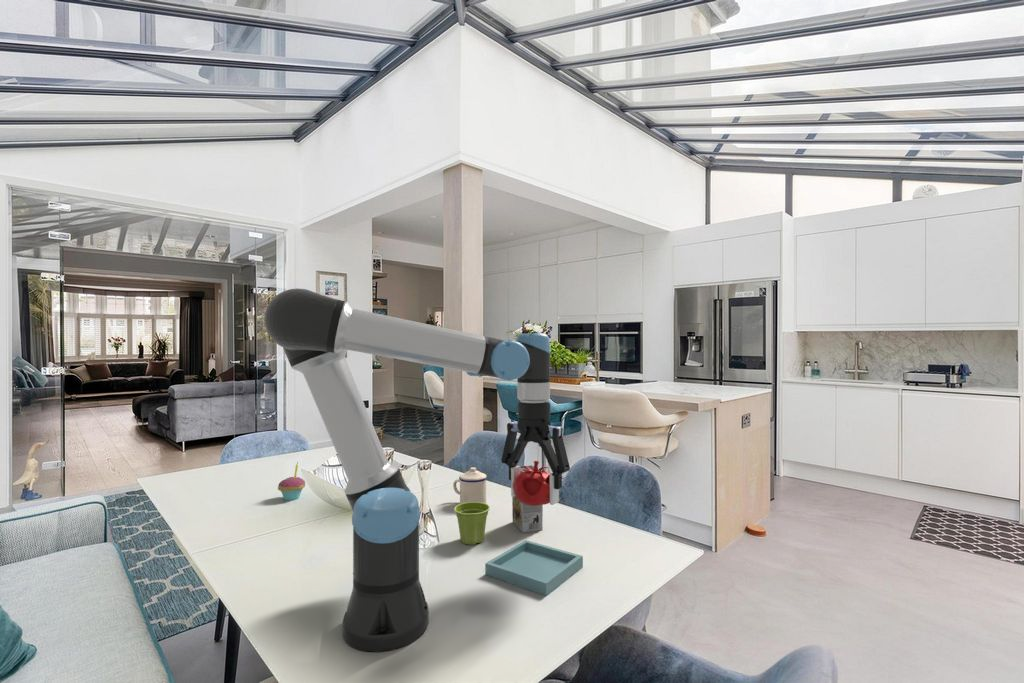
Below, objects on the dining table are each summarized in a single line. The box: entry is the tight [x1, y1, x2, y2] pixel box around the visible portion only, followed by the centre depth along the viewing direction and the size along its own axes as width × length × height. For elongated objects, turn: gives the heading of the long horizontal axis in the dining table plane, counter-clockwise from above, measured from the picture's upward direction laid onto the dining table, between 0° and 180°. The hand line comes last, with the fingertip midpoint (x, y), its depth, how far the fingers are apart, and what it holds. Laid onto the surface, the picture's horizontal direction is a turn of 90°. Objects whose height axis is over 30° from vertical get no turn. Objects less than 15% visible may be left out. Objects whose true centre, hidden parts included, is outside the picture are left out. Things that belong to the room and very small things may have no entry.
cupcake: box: [277, 461, 306, 501], centre depth 163 cm, size 9×8×12 cm
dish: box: [484, 540, 584, 597], centre depth 109 cm, size 16×16×2 cm
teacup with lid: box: [452, 467, 488, 504], centre depth 157 cm, size 12×9×12 cm
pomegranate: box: [513, 460, 552, 506], centre depth 109 cm, size 10×10×9 cm
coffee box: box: [511, 465, 544, 533], centre depth 137 cm, size 9×6×16 cm
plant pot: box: [453, 502, 491, 546], centre depth 126 cm, size 9×9×9 cm
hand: (534, 498), depth 109 cm, fingers closed on pomegranate, 10 cm apart
